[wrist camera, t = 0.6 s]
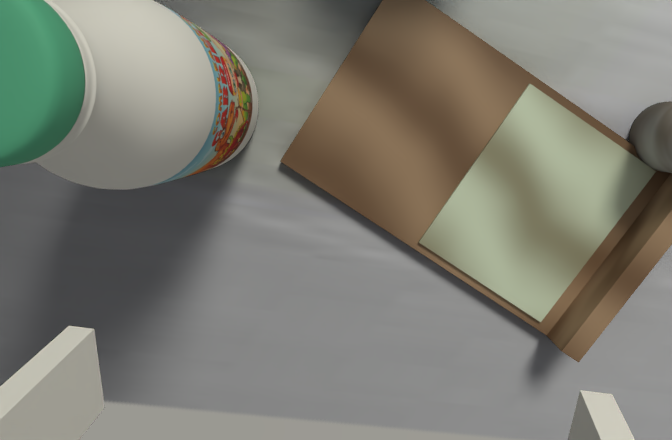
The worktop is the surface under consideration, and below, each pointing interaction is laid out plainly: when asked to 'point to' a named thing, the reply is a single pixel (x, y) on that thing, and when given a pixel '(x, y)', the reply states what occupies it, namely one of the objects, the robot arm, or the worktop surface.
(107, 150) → the milk bottle
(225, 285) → the worktop surface
